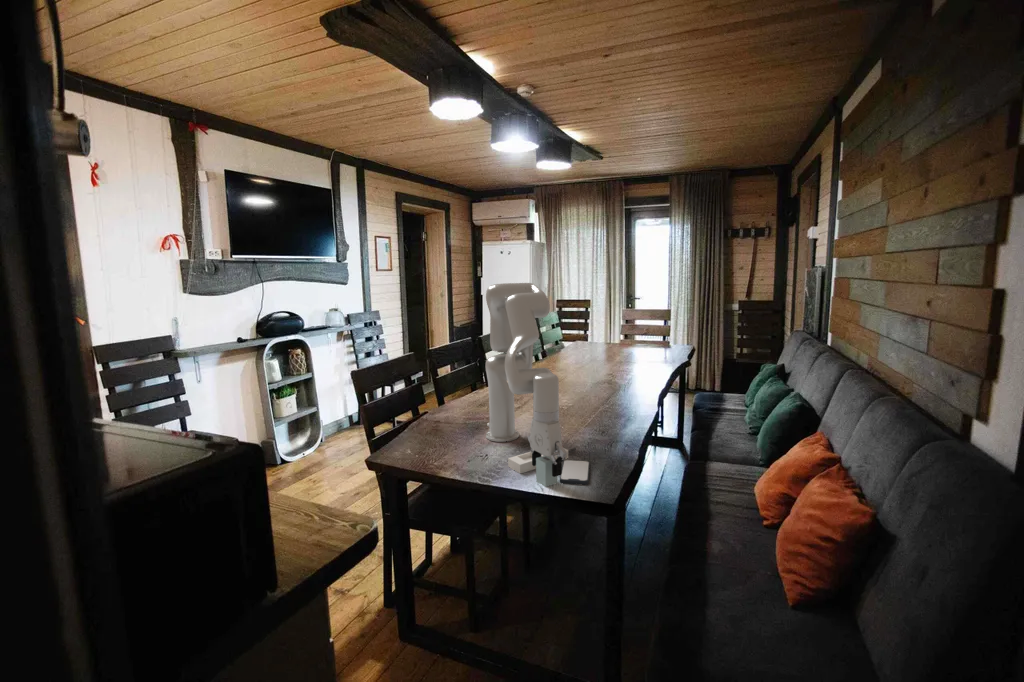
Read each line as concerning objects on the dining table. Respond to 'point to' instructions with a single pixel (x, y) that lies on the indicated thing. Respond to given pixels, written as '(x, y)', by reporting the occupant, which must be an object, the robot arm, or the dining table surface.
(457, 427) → the dining table surface
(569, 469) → the smartphone
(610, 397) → the dining table surface
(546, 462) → the block
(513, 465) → the power strip
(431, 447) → the dining table surface
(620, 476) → the dining table surface
